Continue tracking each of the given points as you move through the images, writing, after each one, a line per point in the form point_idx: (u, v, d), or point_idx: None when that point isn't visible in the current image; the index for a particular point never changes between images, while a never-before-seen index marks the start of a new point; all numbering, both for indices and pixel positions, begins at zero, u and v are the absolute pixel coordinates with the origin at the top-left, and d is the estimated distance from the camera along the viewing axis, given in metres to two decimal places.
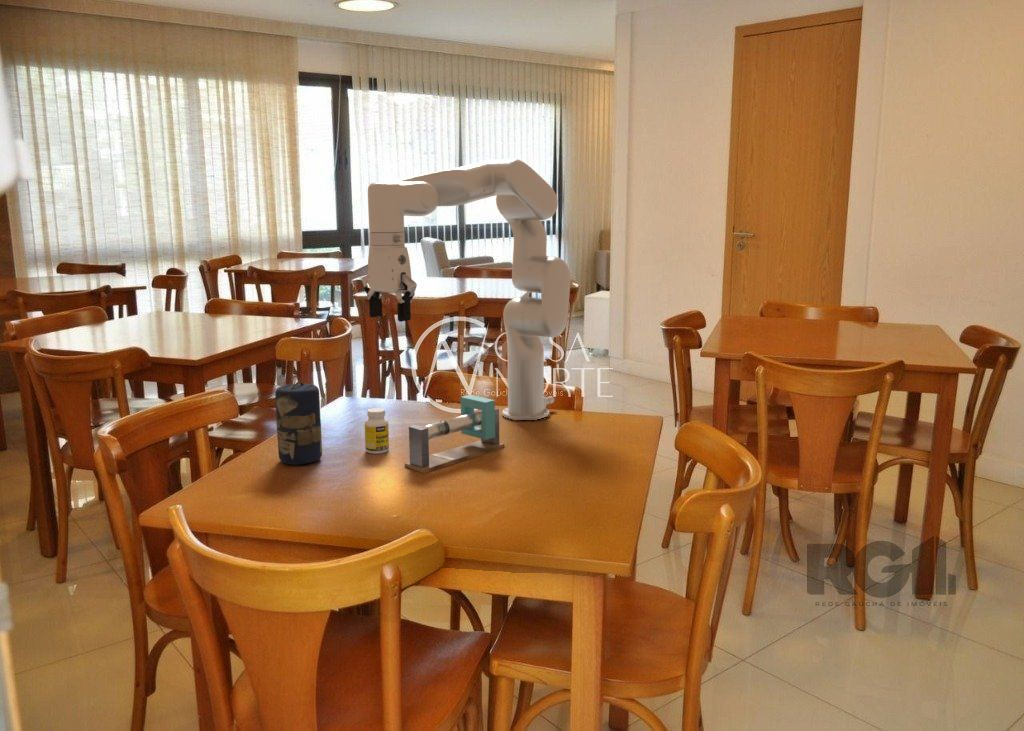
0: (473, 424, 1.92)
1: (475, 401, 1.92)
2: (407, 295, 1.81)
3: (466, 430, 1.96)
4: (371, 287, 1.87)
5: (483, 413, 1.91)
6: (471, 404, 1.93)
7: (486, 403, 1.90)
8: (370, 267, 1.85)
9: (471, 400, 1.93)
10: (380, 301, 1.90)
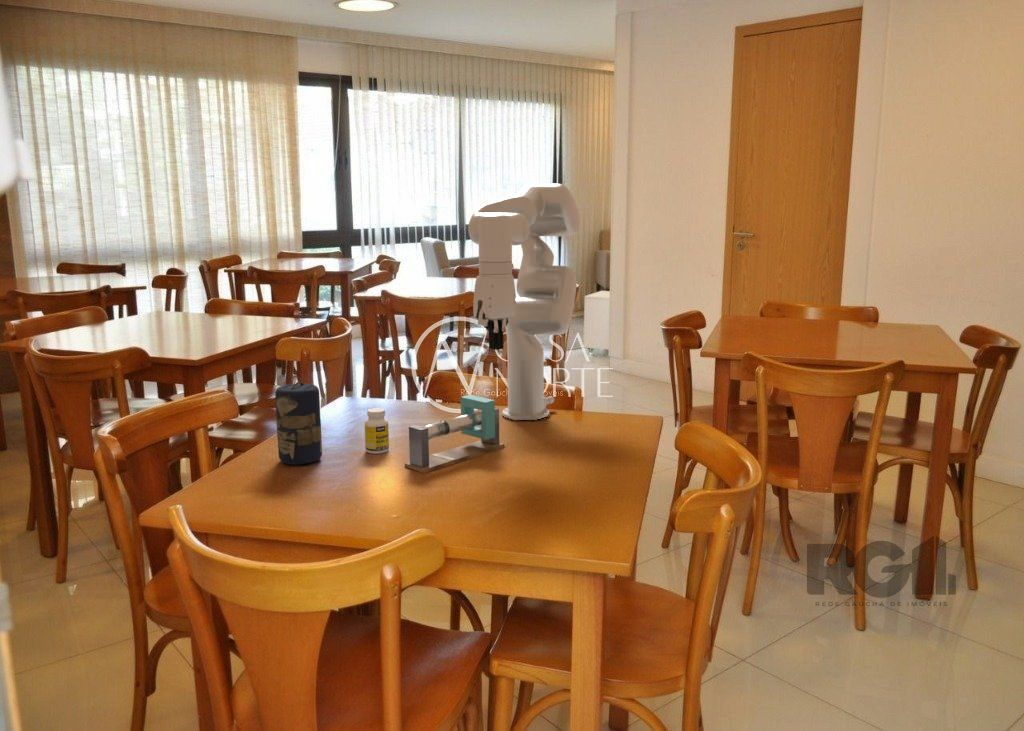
0: (473, 424, 1.92)
1: (475, 401, 1.92)
2: (507, 323, 1.97)
3: (466, 430, 1.96)
4: (491, 316, 1.91)
5: (483, 413, 1.91)
6: (471, 404, 1.93)
7: (486, 403, 1.90)
8: (493, 297, 1.90)
9: (471, 400, 1.93)
10: None
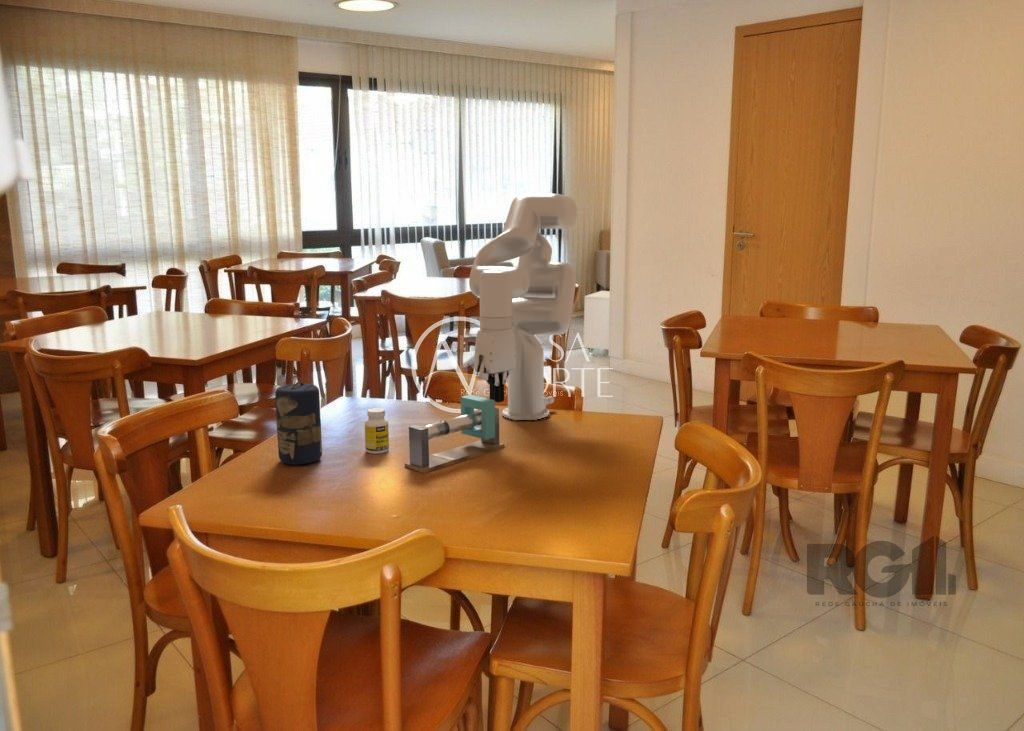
0: (473, 424, 1.92)
1: (475, 401, 1.92)
2: (507, 375, 1.99)
3: (466, 430, 1.96)
4: (492, 370, 1.93)
5: (483, 413, 1.91)
6: (471, 404, 1.93)
7: (486, 403, 1.90)
8: (493, 351, 1.92)
9: (471, 400, 1.93)
10: None
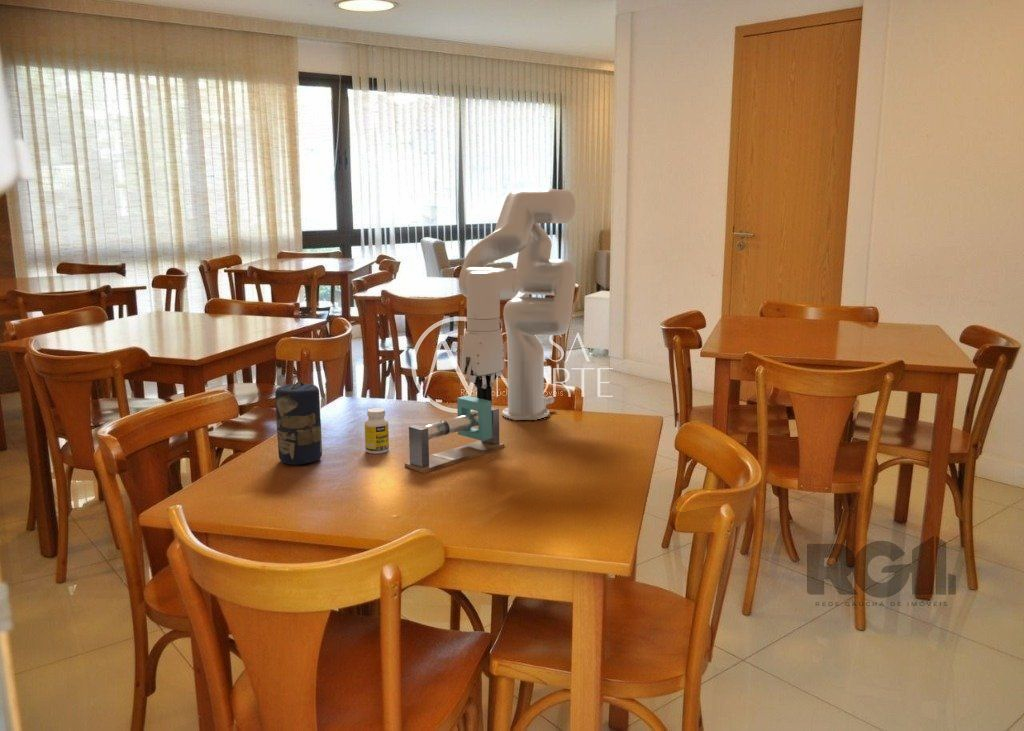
0: (473, 424, 1.92)
1: (472, 402, 1.91)
2: (495, 378, 1.96)
3: (463, 431, 1.95)
4: (479, 373, 1.90)
5: (480, 414, 1.90)
6: (468, 405, 1.93)
7: (483, 404, 1.90)
8: (481, 353, 1.89)
9: (468, 400, 1.92)
10: None
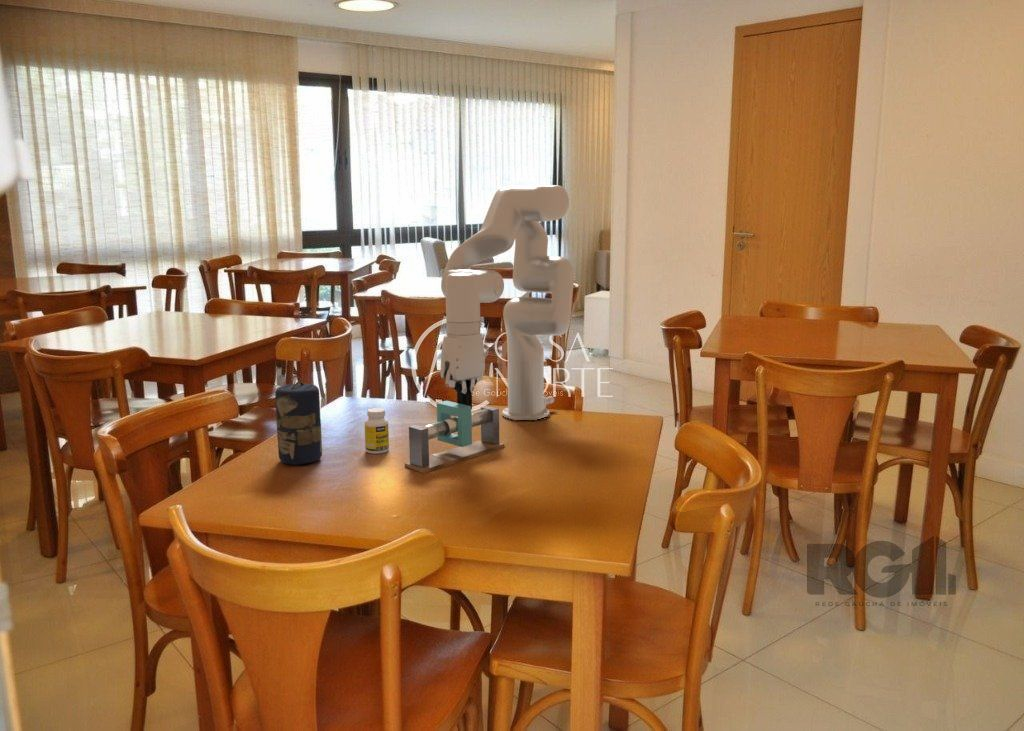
0: (473, 424, 1.92)
1: (451, 407, 1.87)
2: (475, 382, 1.91)
3: (442, 437, 1.90)
4: (459, 377, 1.86)
5: (459, 420, 1.86)
6: (447, 410, 1.88)
7: (462, 409, 1.85)
8: (460, 358, 1.85)
9: (447, 406, 1.88)
10: None
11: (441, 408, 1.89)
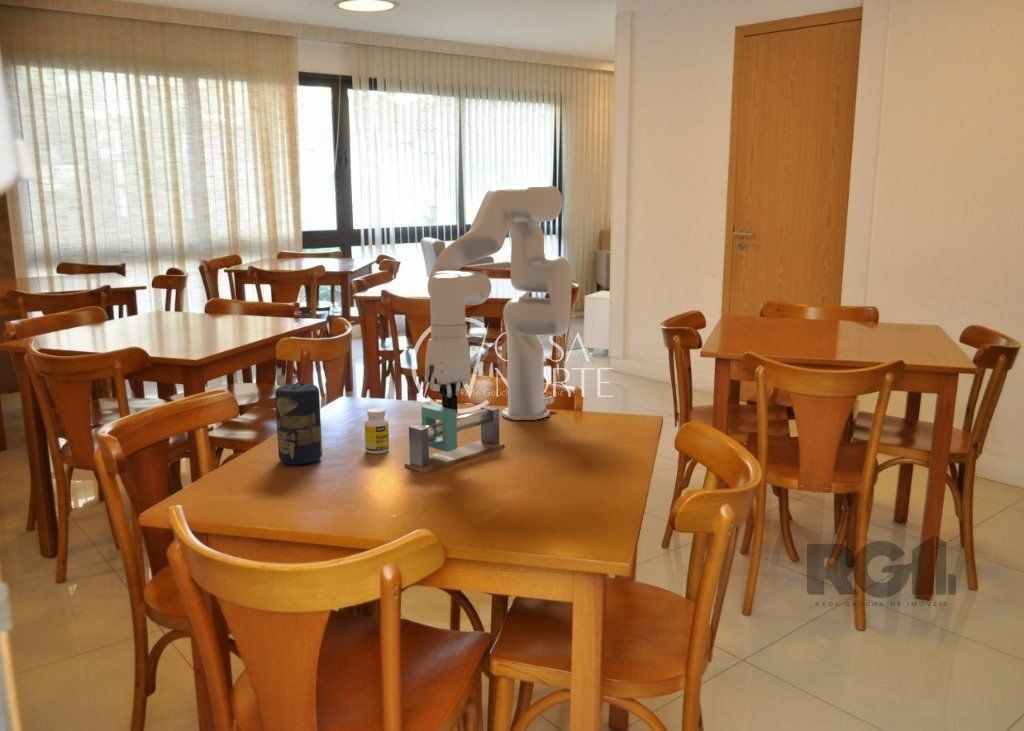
0: (473, 424, 1.92)
1: (436, 411, 1.84)
2: (461, 386, 1.88)
3: None
4: (444, 381, 1.82)
5: (444, 424, 1.82)
6: (432, 414, 1.85)
7: (447, 413, 1.82)
8: (445, 361, 1.82)
9: (432, 410, 1.84)
10: None
11: (426, 412, 1.86)
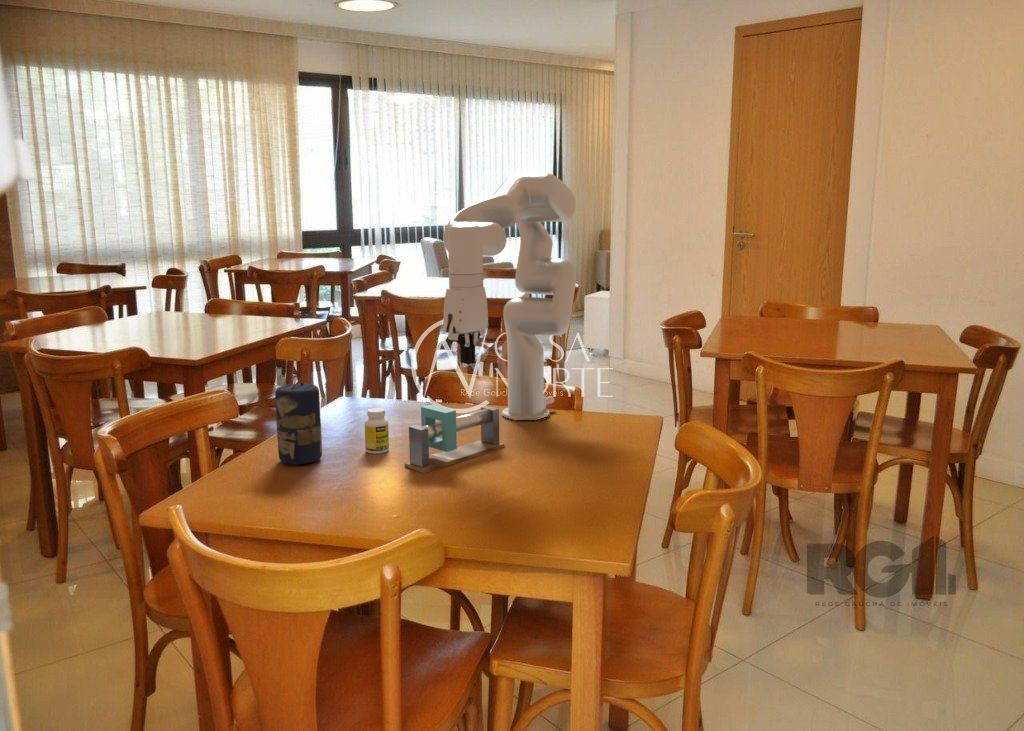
0: (473, 424, 1.92)
1: (435, 411, 1.84)
2: (478, 336, 1.90)
3: None
4: (462, 330, 1.85)
5: (443, 424, 1.82)
6: (431, 414, 1.85)
7: (446, 413, 1.82)
8: (463, 310, 1.84)
9: (431, 410, 1.84)
10: None
11: (425, 412, 1.86)
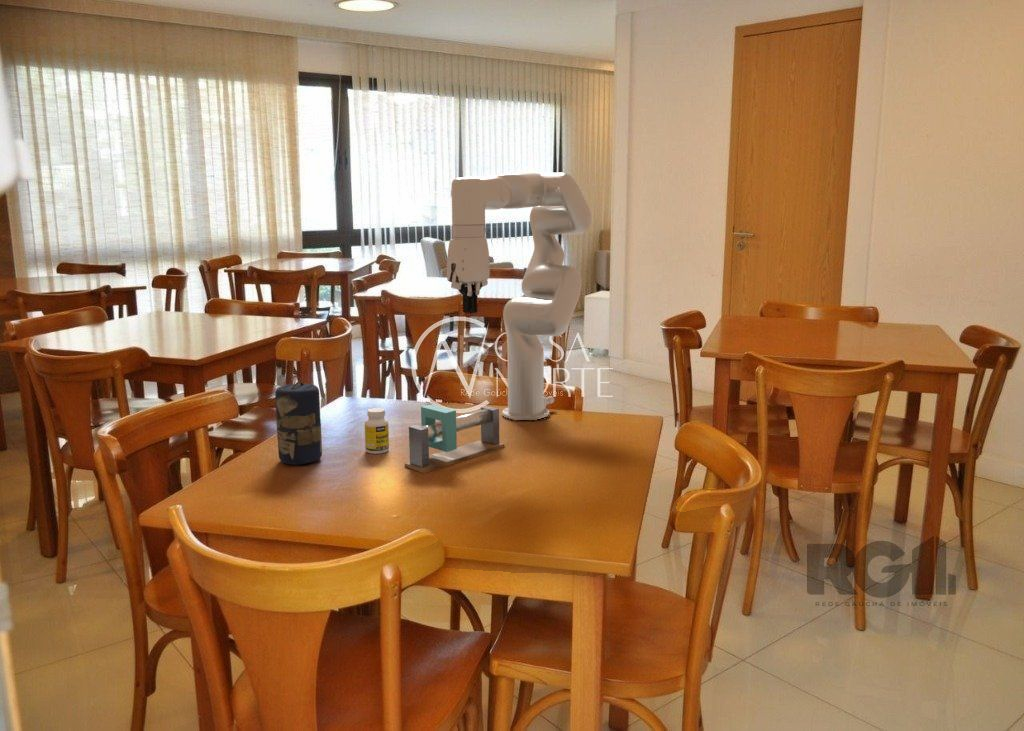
0: (473, 424, 1.92)
1: (435, 411, 1.84)
2: (480, 286, 1.97)
3: None
4: (465, 279, 1.91)
5: (443, 424, 1.82)
6: (431, 414, 1.85)
7: (446, 413, 1.82)
8: (466, 259, 1.91)
9: (431, 410, 1.84)
10: None
11: (425, 412, 1.86)
